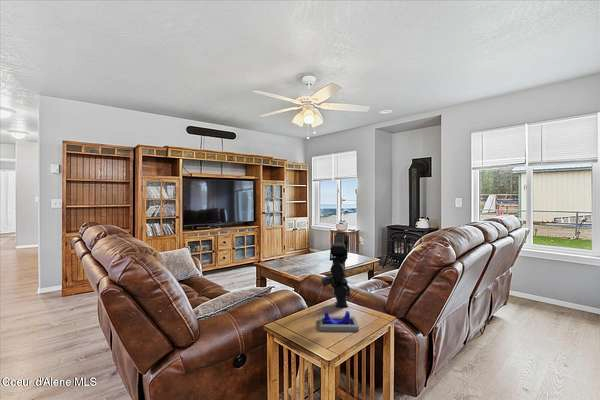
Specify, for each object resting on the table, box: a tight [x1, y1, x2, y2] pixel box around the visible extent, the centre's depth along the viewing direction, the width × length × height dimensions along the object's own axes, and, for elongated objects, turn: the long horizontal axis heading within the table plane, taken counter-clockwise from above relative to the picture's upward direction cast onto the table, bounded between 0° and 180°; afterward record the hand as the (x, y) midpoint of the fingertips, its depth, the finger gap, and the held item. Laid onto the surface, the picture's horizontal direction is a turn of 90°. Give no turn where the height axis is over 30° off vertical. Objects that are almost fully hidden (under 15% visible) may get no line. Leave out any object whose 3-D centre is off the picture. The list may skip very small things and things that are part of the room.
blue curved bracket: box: [324, 310, 351, 325], centre depth 143 cm, size 12×4×6 cm, turn 88°
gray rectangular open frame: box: [318, 315, 360, 332], centre depth 142 cm, size 12×18×2 cm, turn 89°
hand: (338, 302), depth 143 cm, fingers open, 9 cm apart
